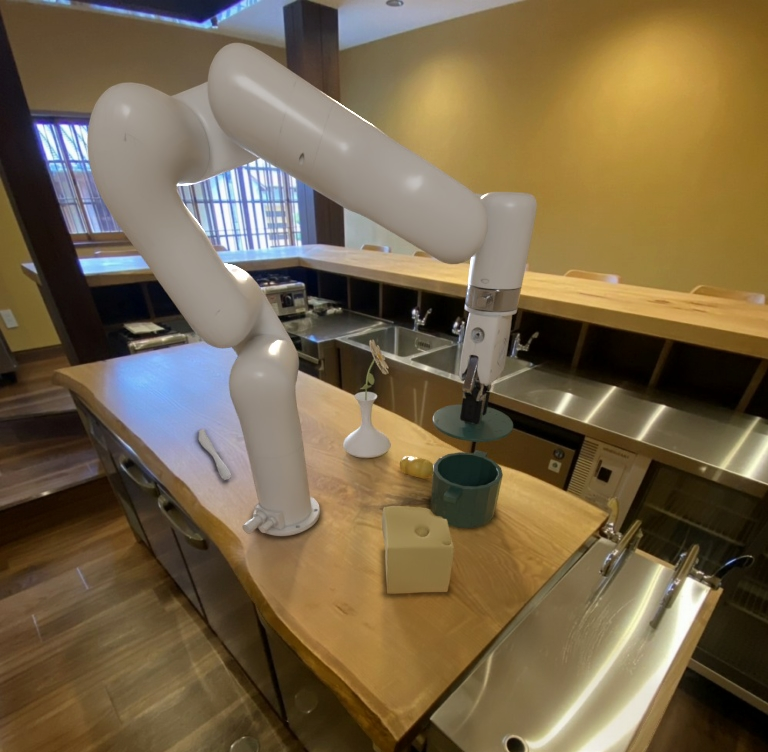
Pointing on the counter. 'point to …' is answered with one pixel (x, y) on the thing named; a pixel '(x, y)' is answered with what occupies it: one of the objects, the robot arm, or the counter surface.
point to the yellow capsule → (416, 467)
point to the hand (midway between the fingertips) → (473, 416)
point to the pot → (465, 488)
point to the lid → (486, 430)
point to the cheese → (416, 550)
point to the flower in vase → (368, 418)
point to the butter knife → (214, 455)
